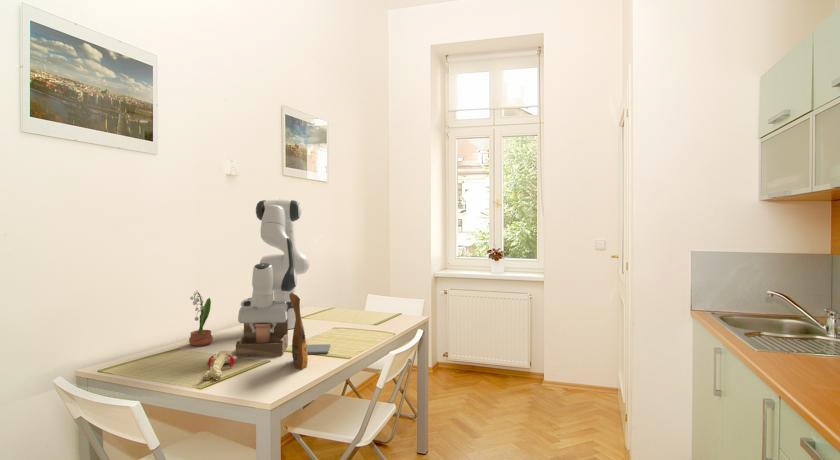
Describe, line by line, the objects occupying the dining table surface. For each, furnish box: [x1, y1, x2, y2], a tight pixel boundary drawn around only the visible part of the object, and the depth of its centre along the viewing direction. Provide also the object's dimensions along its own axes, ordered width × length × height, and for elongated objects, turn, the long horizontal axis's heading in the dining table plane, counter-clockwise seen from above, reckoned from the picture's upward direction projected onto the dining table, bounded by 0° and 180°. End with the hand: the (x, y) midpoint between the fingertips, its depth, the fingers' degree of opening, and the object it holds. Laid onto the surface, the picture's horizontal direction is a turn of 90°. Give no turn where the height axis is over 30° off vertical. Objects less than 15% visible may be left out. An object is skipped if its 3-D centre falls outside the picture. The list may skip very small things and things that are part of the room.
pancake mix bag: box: [289, 292, 309, 370], centre depth 187 cm, size 7×19×28 cm, turn 17°
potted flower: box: [188, 290, 214, 347], centre depth 214 cm, size 12×10×25 cm
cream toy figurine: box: [202, 350, 238, 381], centre depth 178 cm, size 10×9×25 cm
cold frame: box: [235, 318, 289, 358], centre depth 204 cm, size 14×19×13 cm
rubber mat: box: [307, 343, 331, 355], centre depth 207 cm, size 12×11×1 cm
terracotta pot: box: [255, 323, 271, 343], centre depth 204 cm, size 7×7×8 cm
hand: (263, 332), depth 204 cm, fingers closed on terracotta pot, 6 cm apart
